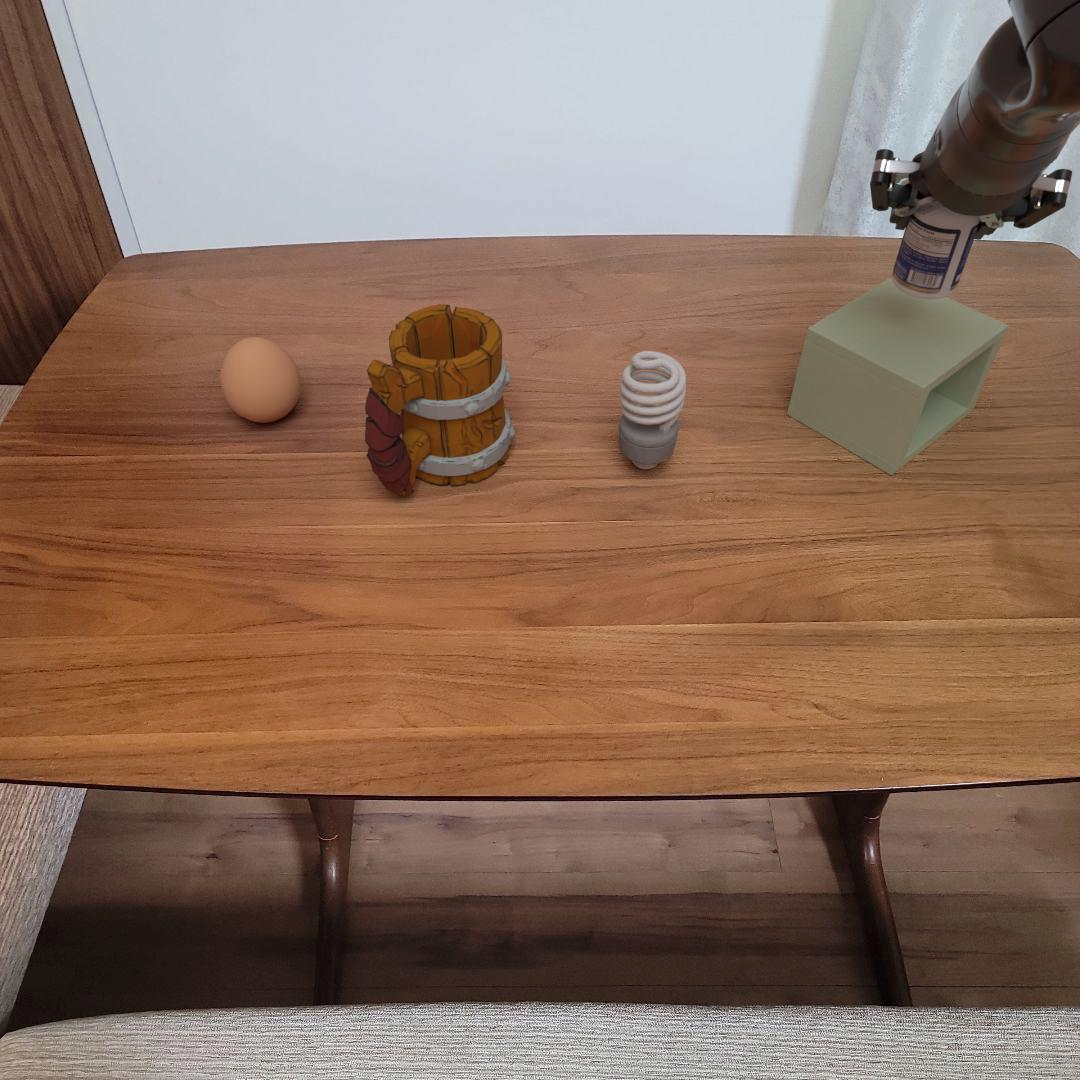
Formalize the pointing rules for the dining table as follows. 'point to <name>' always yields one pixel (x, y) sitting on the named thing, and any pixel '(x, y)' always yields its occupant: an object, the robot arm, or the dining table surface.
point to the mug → (439, 401)
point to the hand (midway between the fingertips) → (938, 222)
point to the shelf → (893, 372)
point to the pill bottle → (934, 253)
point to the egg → (260, 380)
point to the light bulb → (650, 408)
